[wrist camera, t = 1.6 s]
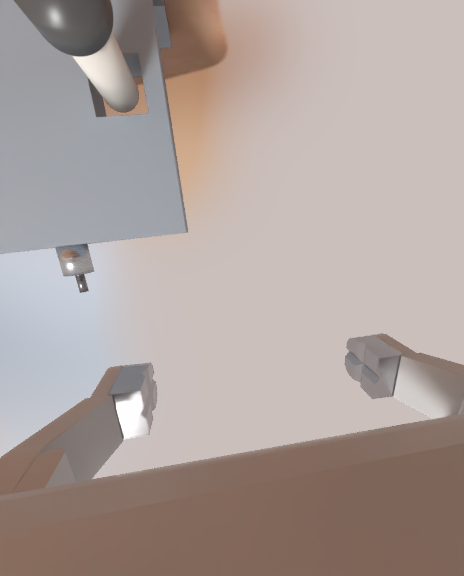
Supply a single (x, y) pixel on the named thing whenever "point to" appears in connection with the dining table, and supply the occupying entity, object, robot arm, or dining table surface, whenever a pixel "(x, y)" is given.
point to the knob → (87, 44)
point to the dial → (75, 263)
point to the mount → (84, 140)
